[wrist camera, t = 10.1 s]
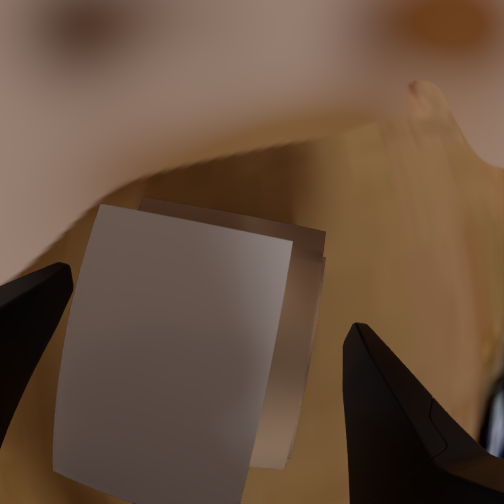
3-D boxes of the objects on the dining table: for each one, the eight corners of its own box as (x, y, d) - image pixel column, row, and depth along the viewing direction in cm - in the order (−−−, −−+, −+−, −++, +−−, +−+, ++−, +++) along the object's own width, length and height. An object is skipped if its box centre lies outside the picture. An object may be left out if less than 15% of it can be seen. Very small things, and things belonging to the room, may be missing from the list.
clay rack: (285, 450, 16) (305, 488, 11) (109, 414, 16) (70, 437, 11) (318, 263, 20) (350, 236, 14) (146, 229, 19) (120, 193, 14)
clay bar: (230, 390, 16) (234, 524, 3) (175, 378, 16) (52, 470, 3) (245, 310, 17) (293, 241, 5) (191, 298, 17) (100, 203, 5)
